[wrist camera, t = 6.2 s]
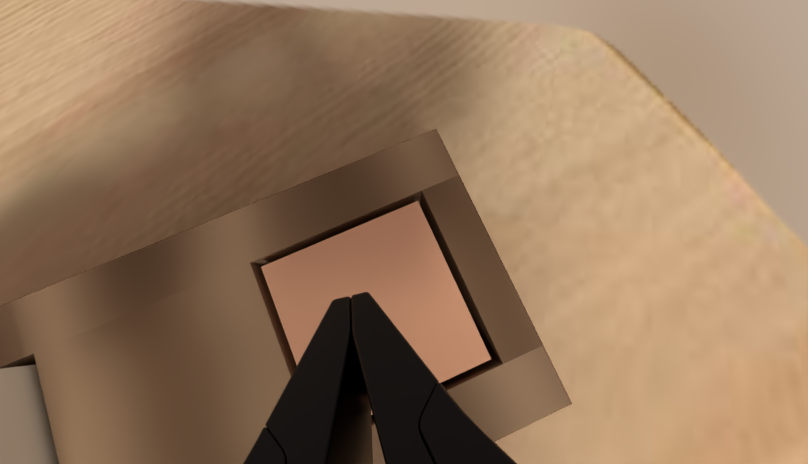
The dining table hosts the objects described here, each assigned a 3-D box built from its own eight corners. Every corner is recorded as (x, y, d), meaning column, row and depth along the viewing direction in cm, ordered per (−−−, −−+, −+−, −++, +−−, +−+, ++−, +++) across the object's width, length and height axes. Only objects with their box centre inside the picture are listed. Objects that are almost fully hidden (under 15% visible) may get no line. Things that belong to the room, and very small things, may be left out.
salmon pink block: (413, 239, 22) (417, 200, 15) (462, 346, 20) (491, 359, 14) (307, 284, 21) (261, 266, 14) (351, 397, 20) (323, 437, 13)
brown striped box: (426, 188, 22) (436, 128, 15) (514, 375, 20) (571, 403, 13) (-13, 372, 20) (-228, 398, 13) (35, 602, 18) (-192, 775, 11)
